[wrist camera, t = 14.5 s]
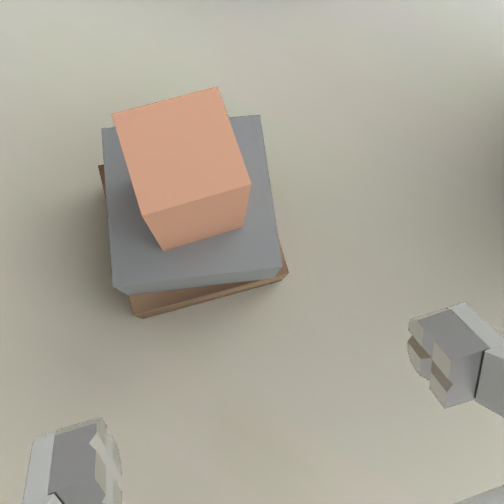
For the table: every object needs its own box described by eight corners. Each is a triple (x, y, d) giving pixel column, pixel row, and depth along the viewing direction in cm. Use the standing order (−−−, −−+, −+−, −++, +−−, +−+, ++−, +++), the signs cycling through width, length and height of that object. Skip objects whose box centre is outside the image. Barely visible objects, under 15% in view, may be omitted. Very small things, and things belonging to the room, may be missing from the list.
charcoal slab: (117, 158, 33) (101, 128, 28) (254, 145, 34) (259, 114, 29) (128, 295, 31) (112, 287, 26) (273, 277, 32) (282, 266, 27)
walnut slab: (112, 187, 37) (98, 165, 32) (243, 156, 38) (246, 131, 34) (144, 319, 35) (133, 315, 30) (280, 281, 36) (288, 272, 32)
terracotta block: (140, 175, 28) (111, 114, 20) (218, 153, 28) (217, 86, 21) (163, 251, 27) (141, 216, 20) (243, 227, 28) (251, 183, 20)
